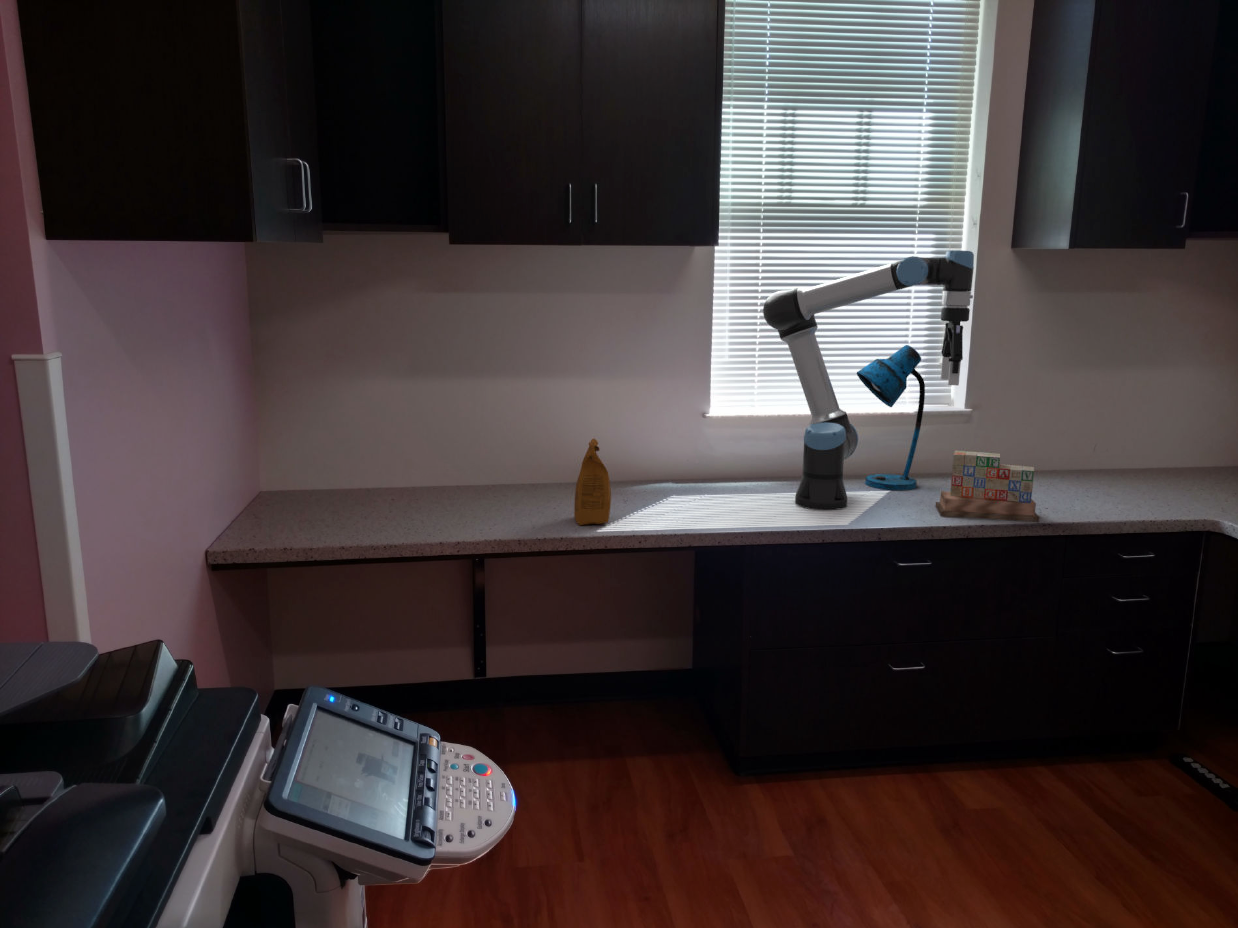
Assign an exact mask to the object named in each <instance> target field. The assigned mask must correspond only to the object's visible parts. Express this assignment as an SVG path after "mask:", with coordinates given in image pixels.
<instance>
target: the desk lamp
mask: <svg viewBox="0 0 1238 928" xmlns="http://www.w3.org/2000/svg"><path fill="white" fill-rule="evenodd" d="M921 361H922V356H921V355H920V354H919V352H918V351H917V350H916V349H915V348H914V347H913V346H910V345H908V344H905V345H903V346H902V347H901V348H900V349H898V350H897V351H896V352H894V353H893V354H892V355H890V356H889V357H887V358H876V359H874V360H873V361H871V362H870V363H868V364H867V365H865V366H864V367H863V368H861V369H860V370H858V371H857V372H856V375H857V377H858V379H859V380H860V381H861V382H862V384H863V385H864V386H865V387H866V388H867V389H868V390H869V392H870V393H872V394H873V395H874V396H875V397H876V398H877V399H878V400H879V401H880V402H882V403H883V404H884V405H886V406H887V407H889V408H893V406H894V405H895V404H896V403H897V402H898V399H900V397H901V396H902V394H904V392H905V391H906V390H907V386H908V385H907V384H908V383H907V381H908V380H907V379H908V377H909V375H910V374H912V376H913V377H915V379H916V380H917V381H918V386H919V394H918V395H919V396H918V397H919V399H918V407H917V414H916V420H915V428H914V431H913V435H912V440H911V443H910V447H909V448H910V449H909V452H908V456H907V459H906V463H905V467H904V471H903V473H902V475H900V474H891V473H890V474H889V473H877V474H876V473H874V474H869V475H866V477H865V481H864V484H865V485H866V486H868V487H871V488H874V489H879V490H886V491H909V490H913V489H916V488H917V482H918V481H917V480H916V479H915V478H913V477H910V476H909V474H910V470H911V467H912V464H913V460H914V455H915V453H916V450H917V446H918V445H917V444H918V440H919V436H920V431H921V425H922V420H923V414H924V409H925V399H926V385H925V381H924V378H923V376H922V375H921V374H920V373H919V371H917V370H916V368H917V366H918V365H919V364H920V362H921Z"/></svg>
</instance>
